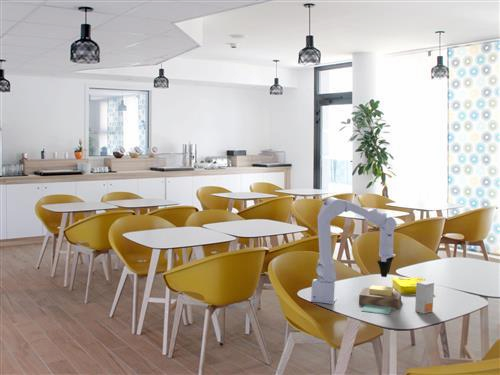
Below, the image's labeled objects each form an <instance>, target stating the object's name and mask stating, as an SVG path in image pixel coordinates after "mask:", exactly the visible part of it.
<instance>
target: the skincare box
mask: <svg viewBox="0 0 500 375" xmlns="http://www.w3.org/2000/svg"><path fill="white" fill-rule="evenodd" d="M434 289H435V282H433V281H429V280H426V281H421V282H417V288H416V295H415V308H414V311H415V312H416V313H419V314H427V313H432V312H433V307H434V293H435V292H434V291H435V290H434Z"/></svg>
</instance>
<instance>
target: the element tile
mask: <svg viewBox="0 0 500 375" xmlns="http://www.w3.org/2000/svg"><path fill="white" fill-rule="evenodd" d="M421 281H427V280H426V278H423V277H403V276H402V277H401V276H399V277H393V278H392V287H393V289H395V291H399V292H402V293H401V295H409V296H410V295H412V296H413V294H416V288H417V282H421Z"/></svg>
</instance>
